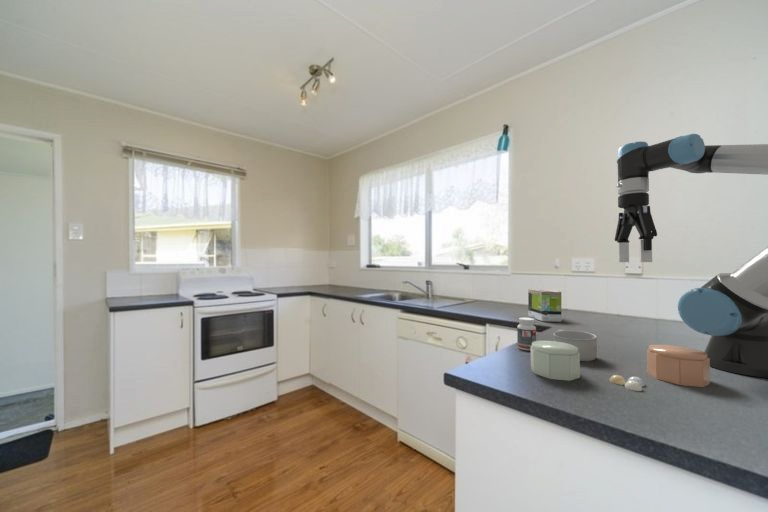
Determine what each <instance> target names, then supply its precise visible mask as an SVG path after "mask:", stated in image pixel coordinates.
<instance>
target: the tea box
mask: <svg viewBox="0 0 768 512" xmlns="http://www.w3.org/2000/svg"><path fill="white" fill-rule="evenodd" d="M527 295H528V297H527V298H528V301H527V302H528V315H527V316H528V318H533V319H534V320H538V321H541V322H556V323H557V322H562V315H563V314H562V291H560V290H559V291H558V290H553V289H552V290H551V289H545V288H544V289H543V288H541V289H539V288H537V289H536V288H535V289H532V288H531V289H528V294H527Z"/></svg>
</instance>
